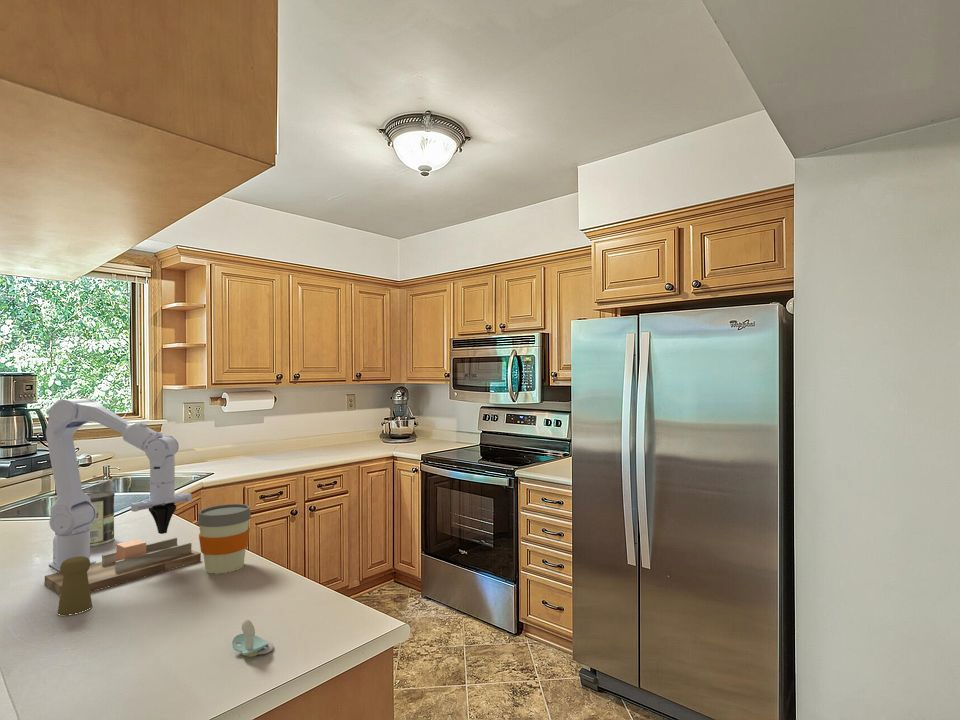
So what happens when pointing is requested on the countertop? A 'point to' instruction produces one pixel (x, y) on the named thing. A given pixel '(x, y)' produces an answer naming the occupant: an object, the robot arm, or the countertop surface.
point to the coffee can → (102, 518)
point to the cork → (74, 586)
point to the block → (130, 549)
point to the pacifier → (250, 641)
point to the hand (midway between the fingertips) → (162, 532)
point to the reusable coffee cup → (224, 536)
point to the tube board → (133, 565)
